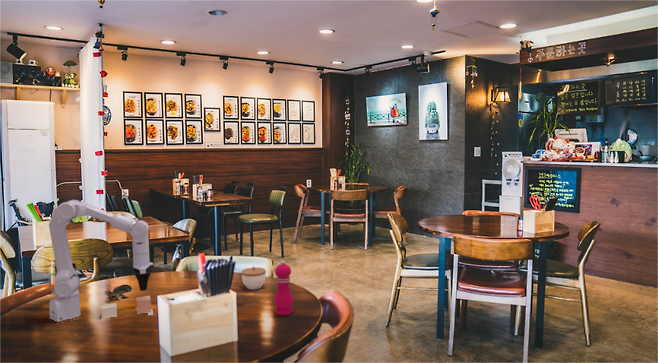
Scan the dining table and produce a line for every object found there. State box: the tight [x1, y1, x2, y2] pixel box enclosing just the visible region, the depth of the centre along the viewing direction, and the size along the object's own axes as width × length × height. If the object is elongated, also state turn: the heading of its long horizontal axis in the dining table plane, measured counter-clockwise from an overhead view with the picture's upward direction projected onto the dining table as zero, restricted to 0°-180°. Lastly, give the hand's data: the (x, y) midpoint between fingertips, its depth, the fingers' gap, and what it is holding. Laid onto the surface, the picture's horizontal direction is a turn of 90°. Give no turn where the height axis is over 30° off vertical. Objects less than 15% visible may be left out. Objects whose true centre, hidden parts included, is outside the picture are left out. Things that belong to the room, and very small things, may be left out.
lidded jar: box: [241, 266, 267, 291], centre depth 204 cm, size 11×11×9 cm
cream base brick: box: [100, 302, 118, 319], centre depth 170 cm, size 5×5×4 cm
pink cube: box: [135, 295, 152, 314], centre depth 175 cm, size 5×5×5 cm
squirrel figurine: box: [104, 284, 133, 302], centre depth 190 cm, size 8×7×9 cm
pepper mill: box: [273, 260, 294, 316], centre depth 172 cm, size 7×7×20 cm
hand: (142, 287), depth 176 cm, fingers open, 7 cm apart
